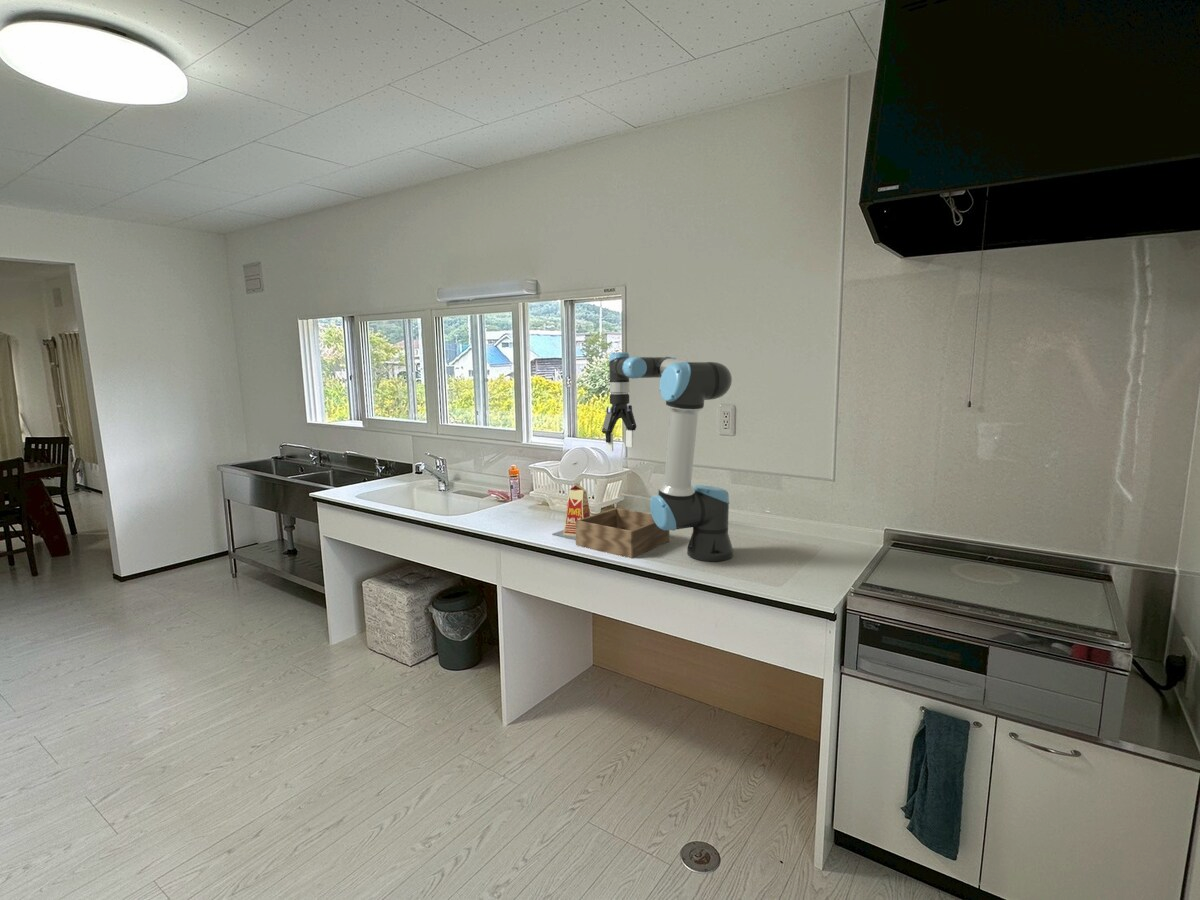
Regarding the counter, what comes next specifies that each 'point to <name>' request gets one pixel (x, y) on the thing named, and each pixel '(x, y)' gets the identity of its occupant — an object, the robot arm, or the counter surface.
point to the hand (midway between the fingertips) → (619, 449)
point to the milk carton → (576, 509)
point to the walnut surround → (620, 532)
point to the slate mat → (564, 535)
